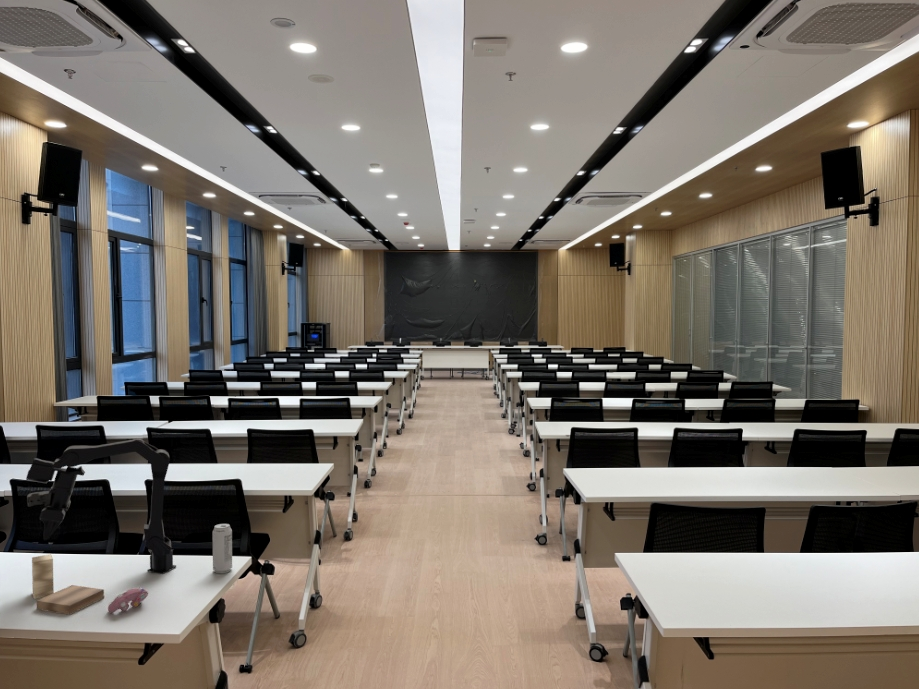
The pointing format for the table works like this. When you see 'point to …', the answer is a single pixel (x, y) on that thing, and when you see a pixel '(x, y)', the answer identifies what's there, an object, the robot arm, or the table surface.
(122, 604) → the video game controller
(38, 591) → the birch block
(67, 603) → the walnut base block
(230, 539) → the energy drink can
